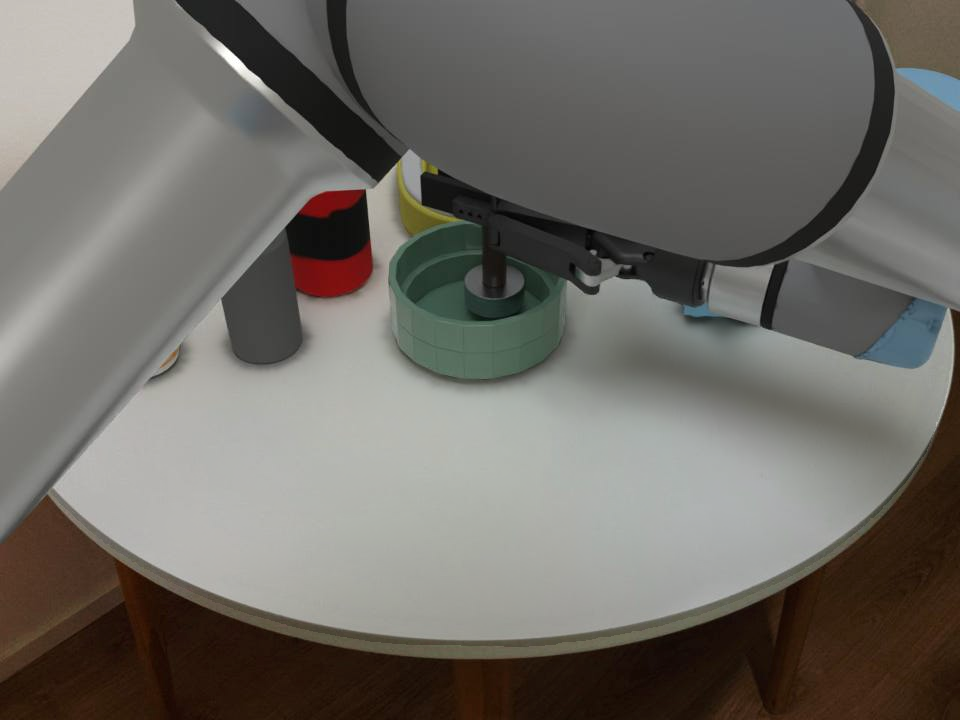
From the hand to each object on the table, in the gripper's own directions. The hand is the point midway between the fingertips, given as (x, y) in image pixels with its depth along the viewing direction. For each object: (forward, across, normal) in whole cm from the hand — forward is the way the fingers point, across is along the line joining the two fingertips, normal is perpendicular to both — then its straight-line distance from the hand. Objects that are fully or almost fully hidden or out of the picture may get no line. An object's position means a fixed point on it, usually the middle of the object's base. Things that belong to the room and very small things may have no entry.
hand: (432, 180), depth 83 cm
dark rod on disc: (-6, 0, -10) cm, 11 cm away
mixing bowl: (-5, -2, -12) cm, 13 cm away
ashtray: (+4, +16, -12) cm, 20 cm away
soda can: (+10, -1, -12) cm, 16 cm away
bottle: (+10, -12, -12) cm, 19 cm away
